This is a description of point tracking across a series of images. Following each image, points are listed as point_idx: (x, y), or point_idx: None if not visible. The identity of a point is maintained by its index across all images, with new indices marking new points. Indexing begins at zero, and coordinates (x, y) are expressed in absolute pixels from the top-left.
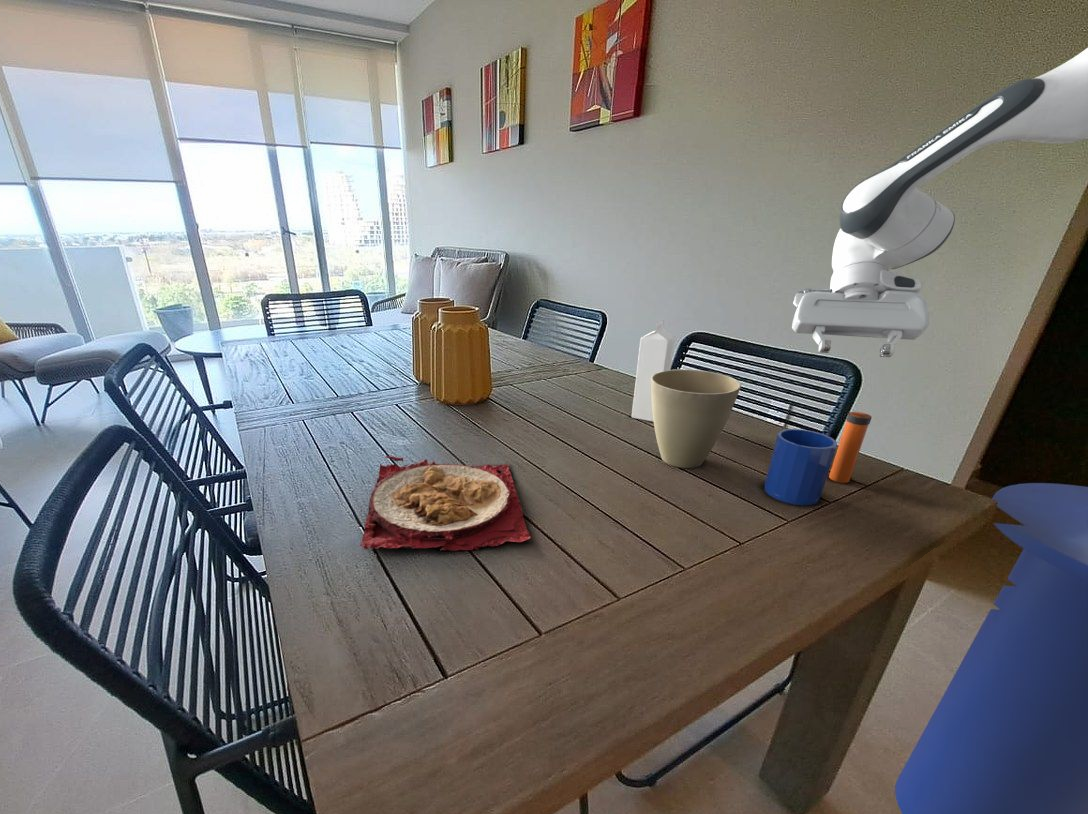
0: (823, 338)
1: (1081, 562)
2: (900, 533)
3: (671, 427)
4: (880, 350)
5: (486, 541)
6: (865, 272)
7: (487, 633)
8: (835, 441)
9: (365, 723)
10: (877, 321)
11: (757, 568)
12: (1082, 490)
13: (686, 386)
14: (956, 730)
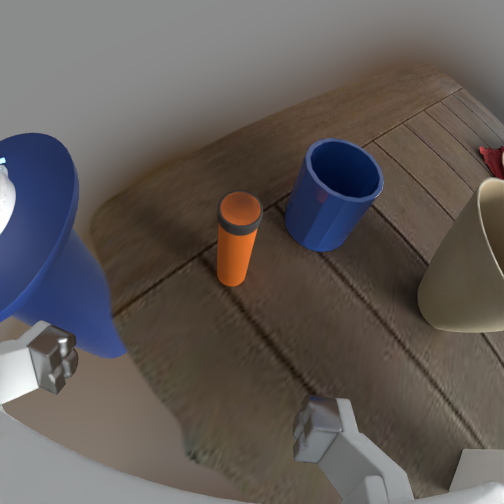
0: (355, 438)
1: (73, 168)
2: (226, 154)
3: (488, 235)
4: (61, 381)
5: (492, 153)
6: None
7: (454, 105)
8: (306, 157)
9: (457, 87)
10: (1, 450)
11: (361, 119)
12: None
13: None
14: None
